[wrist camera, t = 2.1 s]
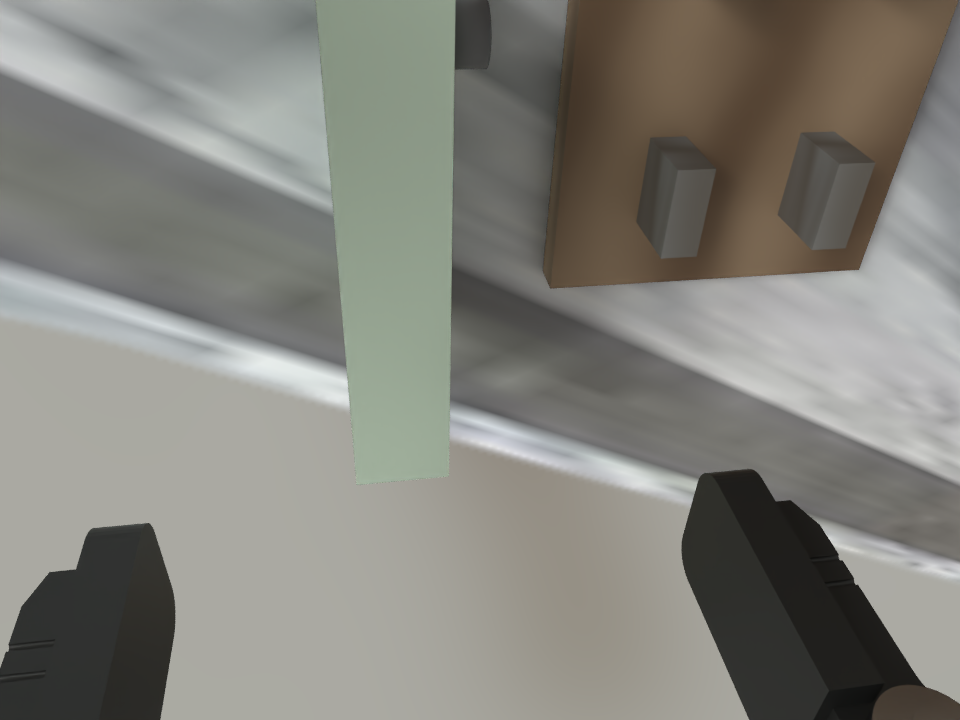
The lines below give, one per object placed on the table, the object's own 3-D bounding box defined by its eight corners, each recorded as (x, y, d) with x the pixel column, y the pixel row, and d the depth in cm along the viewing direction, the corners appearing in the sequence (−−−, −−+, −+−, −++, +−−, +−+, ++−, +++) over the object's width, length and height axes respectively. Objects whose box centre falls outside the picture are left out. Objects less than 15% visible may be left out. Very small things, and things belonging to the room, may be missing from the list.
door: (344, 281, 29) (356, 484, 21) (313, -106, 21) (313, -15, 14) (439, 275, 29) (486, 472, 21) (441, -104, 22) (512, -16, 14)
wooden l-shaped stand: (543, 270, 30) (733, 713, 16) (605, -398, 19) (1353, -738, 5) (842, 253, 31) (1238, 639, 18) (1059, -365, 20) (2479, -557, 7)
